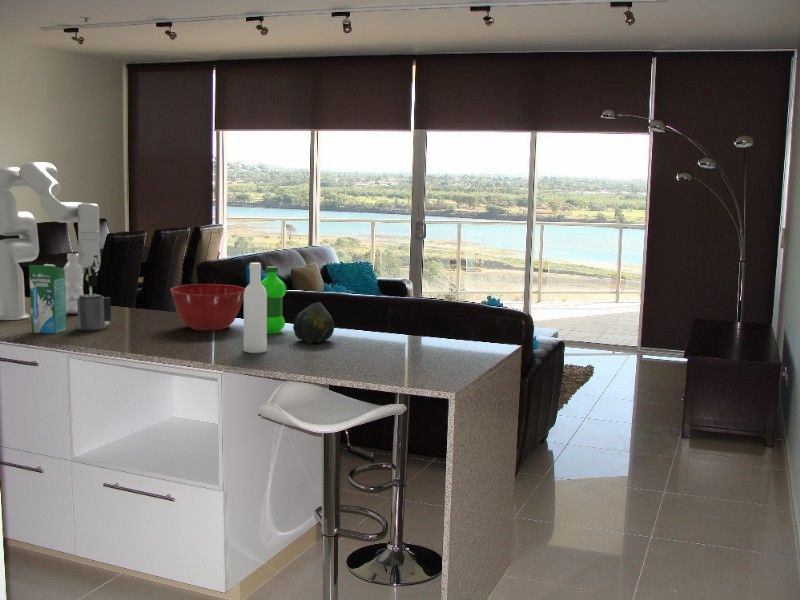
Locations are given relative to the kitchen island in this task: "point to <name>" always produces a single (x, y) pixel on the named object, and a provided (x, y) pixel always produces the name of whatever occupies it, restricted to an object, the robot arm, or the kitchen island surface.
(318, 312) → the squash
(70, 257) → the plastic bottle
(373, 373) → the kitchen island surface
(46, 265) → the milk carton
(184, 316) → the mixing bowl
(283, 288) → the plastic bottle
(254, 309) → the bottle
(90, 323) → the carafe
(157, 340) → the kitchen island surface
